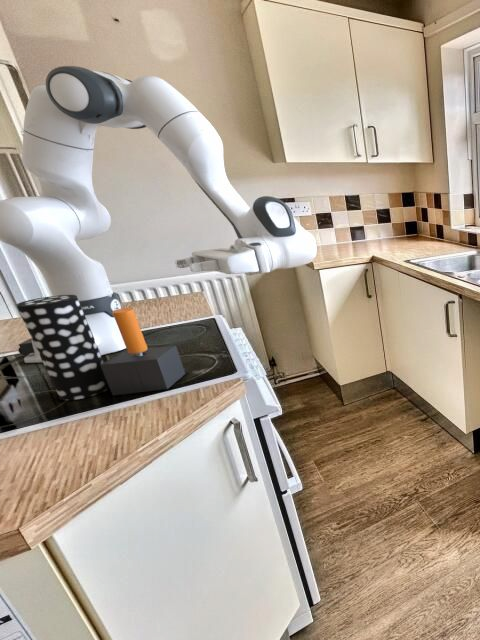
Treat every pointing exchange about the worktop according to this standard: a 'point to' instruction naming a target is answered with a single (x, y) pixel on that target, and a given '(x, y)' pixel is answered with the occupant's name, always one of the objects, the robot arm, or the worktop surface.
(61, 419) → the worktop surface
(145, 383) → the holder
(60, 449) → the worktop surface
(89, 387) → the spotted tube
